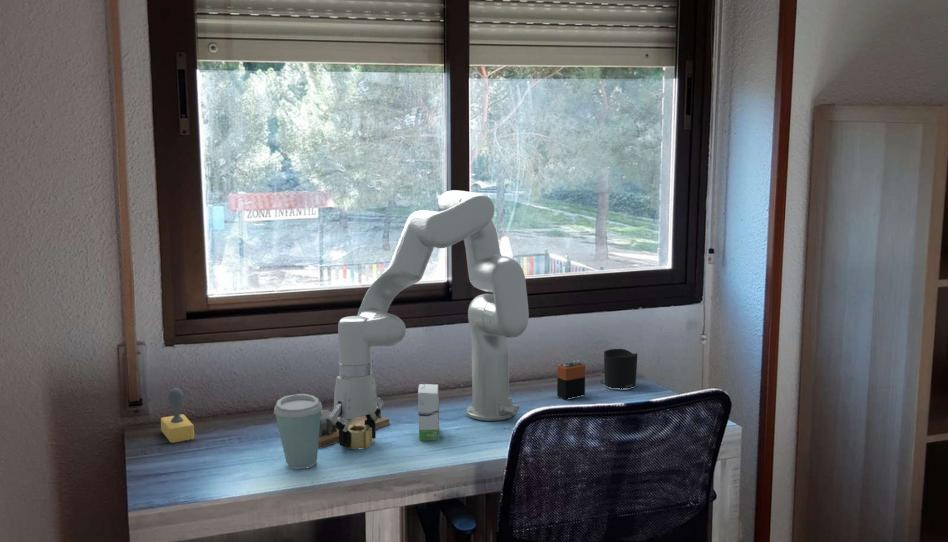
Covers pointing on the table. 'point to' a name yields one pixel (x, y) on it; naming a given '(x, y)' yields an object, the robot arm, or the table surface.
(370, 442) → the brass gear
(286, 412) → the disposable coffee cup
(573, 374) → the battery
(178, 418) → the rubber stamp
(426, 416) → the ink box
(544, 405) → the table surface
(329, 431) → the gear board
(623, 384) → the pen holder
